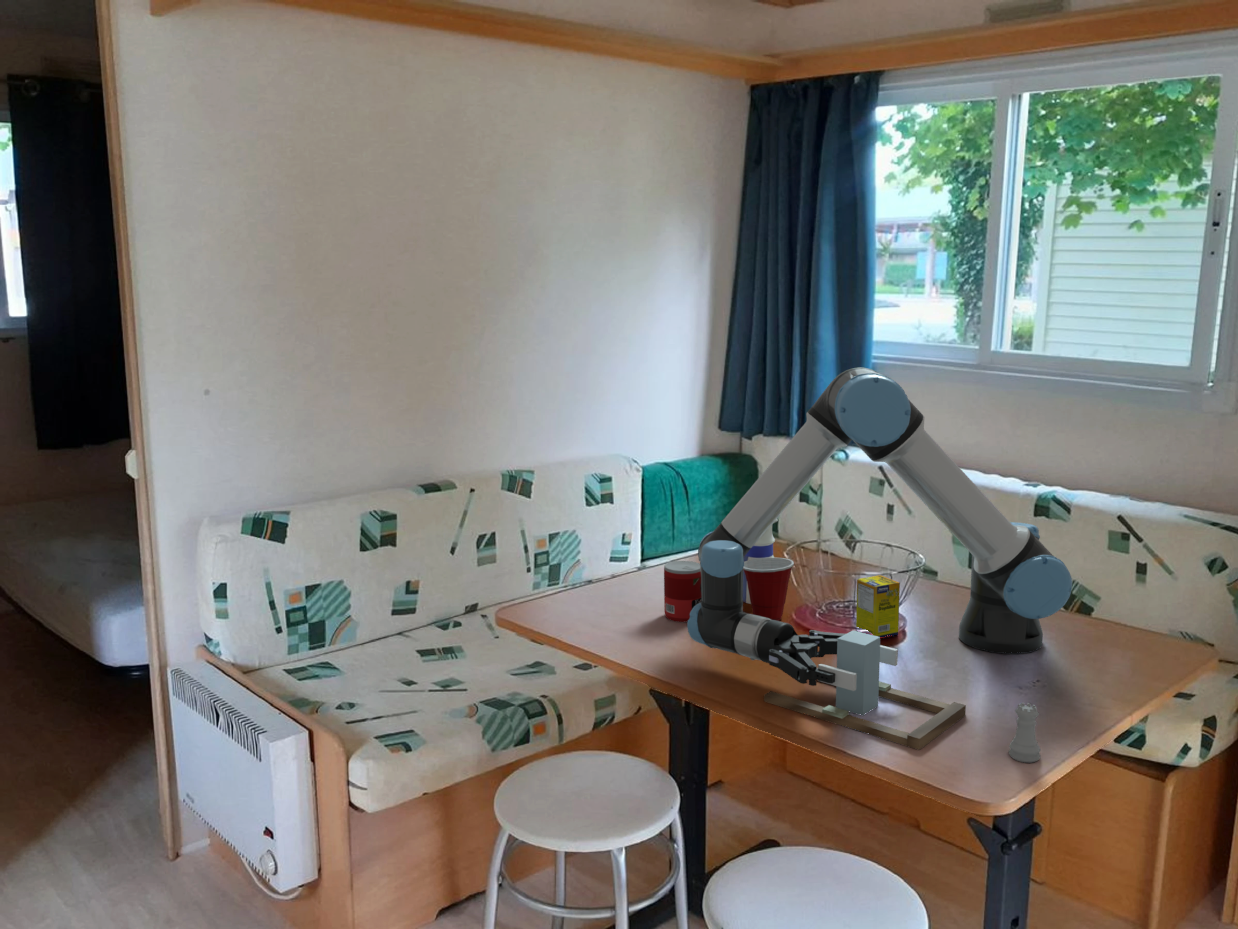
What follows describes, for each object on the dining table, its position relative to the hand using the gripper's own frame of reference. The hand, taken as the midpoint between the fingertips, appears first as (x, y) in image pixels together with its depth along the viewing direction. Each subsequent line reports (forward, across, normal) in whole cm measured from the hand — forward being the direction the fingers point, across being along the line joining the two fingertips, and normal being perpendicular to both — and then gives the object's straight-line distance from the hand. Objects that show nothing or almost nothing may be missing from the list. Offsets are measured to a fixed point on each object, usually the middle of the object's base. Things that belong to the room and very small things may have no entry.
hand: (876, 669), depth 172 cm
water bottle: (-49, -36, -8) cm, 61 cm away
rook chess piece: (+24, 0, -8) cm, 26 cm away
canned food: (-54, -17, -8) cm, 57 cm away
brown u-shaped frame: (-3, 0, -7) cm, 8 cm away
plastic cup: (-40, -27, -8) cm, 49 cm away
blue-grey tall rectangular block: (-3, 0, -7) cm, 8 cm away
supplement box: (-18, -33, -8) cm, 38 cm away
